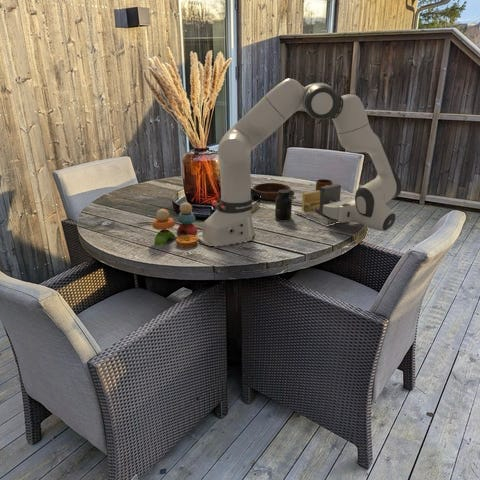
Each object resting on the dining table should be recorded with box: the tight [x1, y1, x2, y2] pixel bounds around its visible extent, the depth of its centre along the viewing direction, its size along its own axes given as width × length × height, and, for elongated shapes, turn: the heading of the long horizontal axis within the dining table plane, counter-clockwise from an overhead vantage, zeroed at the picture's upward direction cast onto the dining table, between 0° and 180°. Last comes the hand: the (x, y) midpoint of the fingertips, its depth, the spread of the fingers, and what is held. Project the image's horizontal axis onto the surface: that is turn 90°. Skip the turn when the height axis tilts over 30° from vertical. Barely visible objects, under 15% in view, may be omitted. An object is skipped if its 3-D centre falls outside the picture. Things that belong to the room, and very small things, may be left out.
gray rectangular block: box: [315, 183, 342, 216], centre depth 184 cm, size 9×6×12 cm
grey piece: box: [294, 190, 339, 225], centre depth 186 cm, size 16×20×8 cm
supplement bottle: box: [274, 190, 293, 221], centre depth 184 cm, size 7×7×12 cm
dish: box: [252, 182, 295, 201], centre depth 214 cm, size 18×22×5 cm
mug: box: [315, 178, 333, 191], centre depth 205 cm, size 12×8×9 cm, turn 2°
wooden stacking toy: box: [152, 202, 199, 248], centre depth 164 cm, size 18×17×12 cm
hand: (331, 202), depth 182 cm, fingers closed, pressing on gray rectangular block
